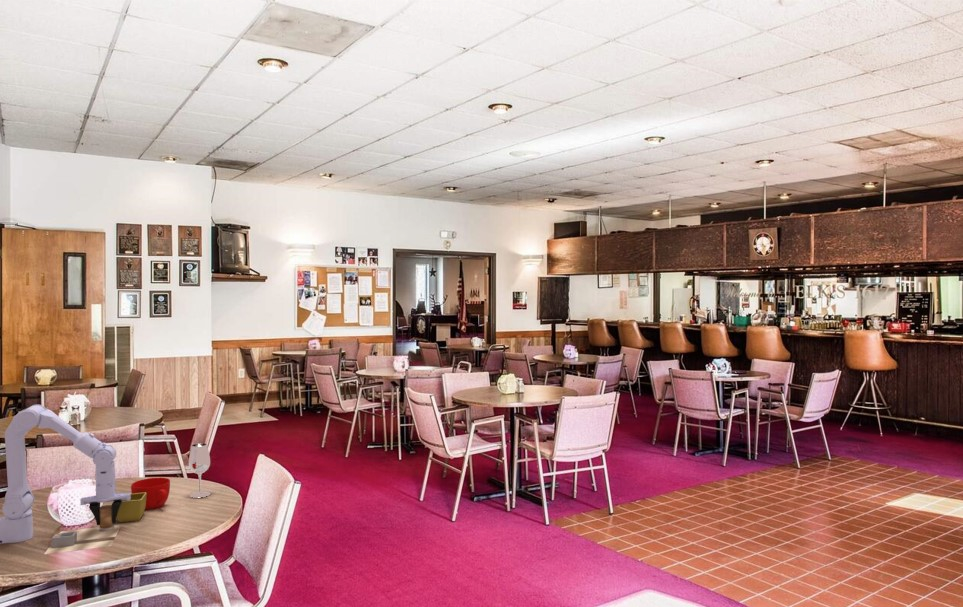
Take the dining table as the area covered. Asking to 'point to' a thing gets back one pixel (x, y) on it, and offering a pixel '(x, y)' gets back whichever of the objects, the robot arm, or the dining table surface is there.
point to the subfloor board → (88, 540)
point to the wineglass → (199, 464)
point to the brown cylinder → (106, 518)
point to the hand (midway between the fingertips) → (106, 523)
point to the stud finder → (64, 539)
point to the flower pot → (132, 508)
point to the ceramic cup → (153, 491)
